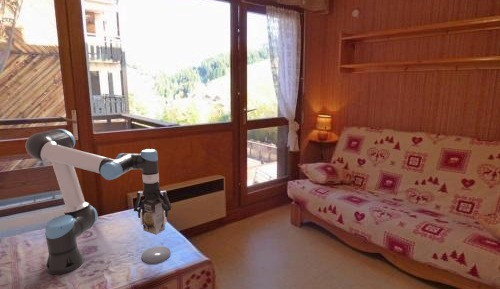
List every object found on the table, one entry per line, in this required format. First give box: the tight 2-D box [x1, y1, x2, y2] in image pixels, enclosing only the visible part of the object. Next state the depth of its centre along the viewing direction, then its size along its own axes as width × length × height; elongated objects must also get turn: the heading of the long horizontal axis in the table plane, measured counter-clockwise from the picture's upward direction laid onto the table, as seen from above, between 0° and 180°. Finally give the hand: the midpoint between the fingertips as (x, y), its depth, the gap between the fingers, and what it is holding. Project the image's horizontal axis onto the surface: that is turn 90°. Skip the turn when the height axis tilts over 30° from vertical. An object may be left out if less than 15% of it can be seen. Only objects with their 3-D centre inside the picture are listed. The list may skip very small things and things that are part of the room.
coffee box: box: [140, 199, 166, 235], centre depth 147 cm, size 9×6×16 cm
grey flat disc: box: [141, 245, 171, 265], centre depth 151 cm, size 14×14×1 cm
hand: (153, 223), depth 148 cm, fingers closed on coffee box, 10 cm apart
